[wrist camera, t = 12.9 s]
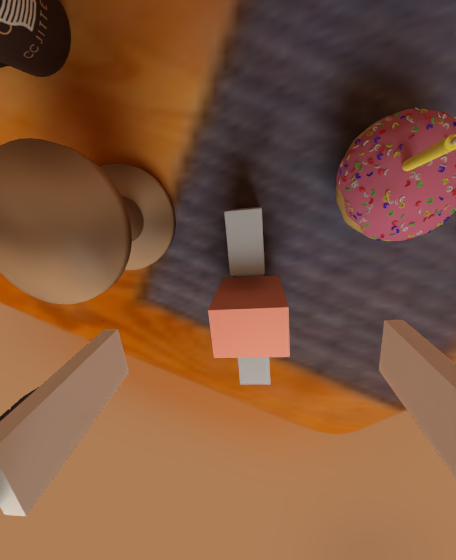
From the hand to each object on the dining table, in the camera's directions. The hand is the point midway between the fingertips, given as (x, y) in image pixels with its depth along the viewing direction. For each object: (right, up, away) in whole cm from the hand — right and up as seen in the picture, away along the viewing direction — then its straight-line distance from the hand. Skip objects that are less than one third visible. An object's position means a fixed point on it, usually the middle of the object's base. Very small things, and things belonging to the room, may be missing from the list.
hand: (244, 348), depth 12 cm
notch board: (+2, +4, +13) cm, 13 cm away
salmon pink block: (+1, +2, +10) cm, 10 cm away
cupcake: (+12, +12, +9) cm, 19 cm away
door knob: (-11, +10, +12) cm, 19 cm away
